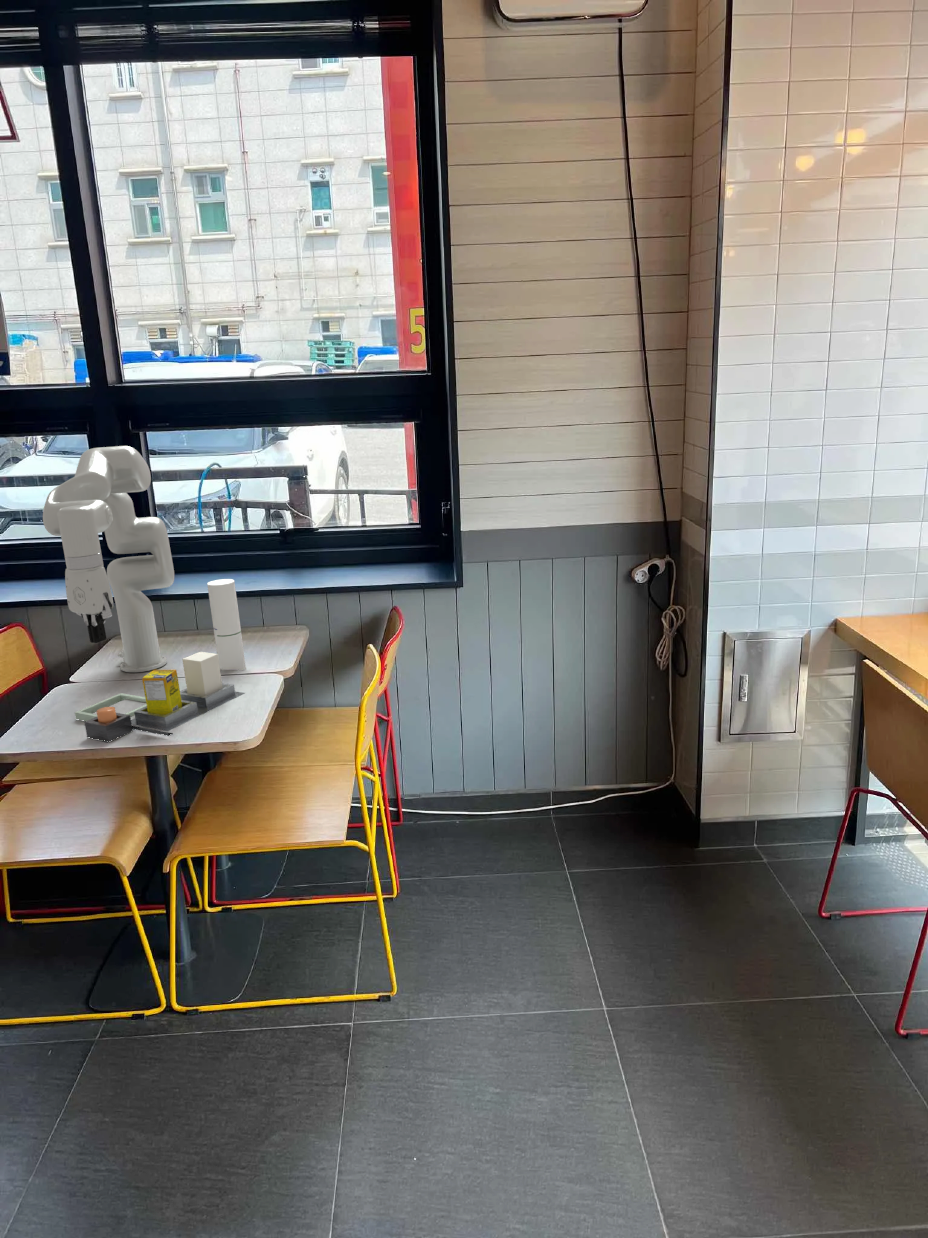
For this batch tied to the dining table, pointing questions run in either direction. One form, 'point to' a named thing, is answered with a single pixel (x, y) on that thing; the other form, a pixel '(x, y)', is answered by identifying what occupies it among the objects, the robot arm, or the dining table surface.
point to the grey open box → (183, 710)
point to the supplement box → (162, 691)
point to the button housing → (108, 728)
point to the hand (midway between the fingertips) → (98, 641)
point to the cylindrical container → (226, 624)
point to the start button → (106, 714)
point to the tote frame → (88, 712)
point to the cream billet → (202, 673)
